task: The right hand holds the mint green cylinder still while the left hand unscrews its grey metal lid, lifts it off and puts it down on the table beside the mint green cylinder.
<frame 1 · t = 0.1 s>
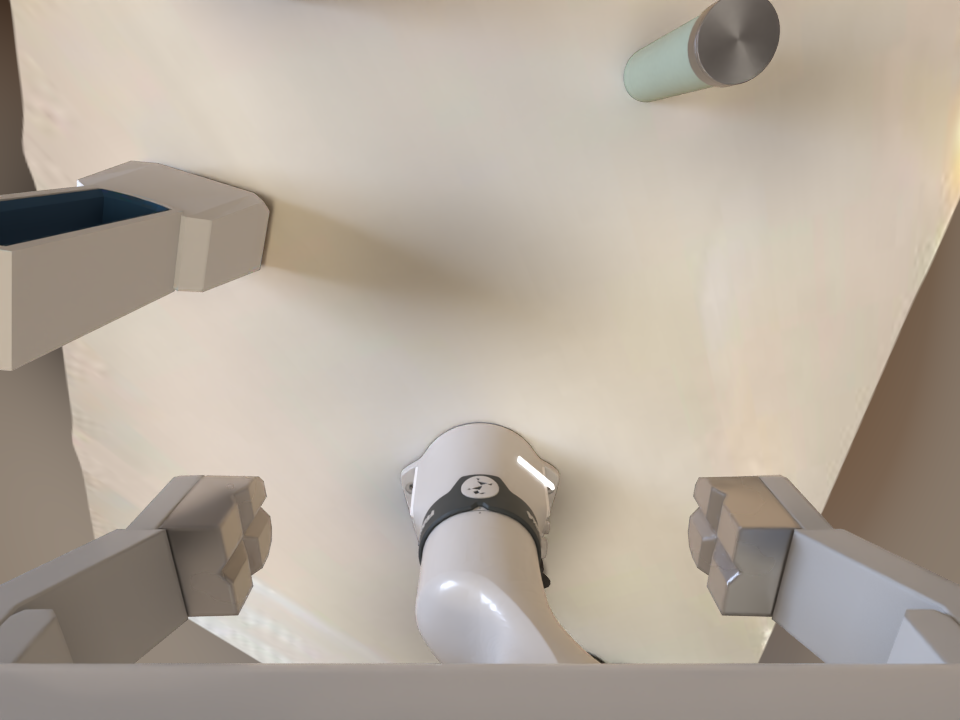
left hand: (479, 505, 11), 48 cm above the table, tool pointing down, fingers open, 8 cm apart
lid: (735, 40, 33), point 19 cm above the table, screwed on, not yet turned
mint green cylinder: (648, 74, 51), on the table
electronic device: (208, 215, 55), on the table
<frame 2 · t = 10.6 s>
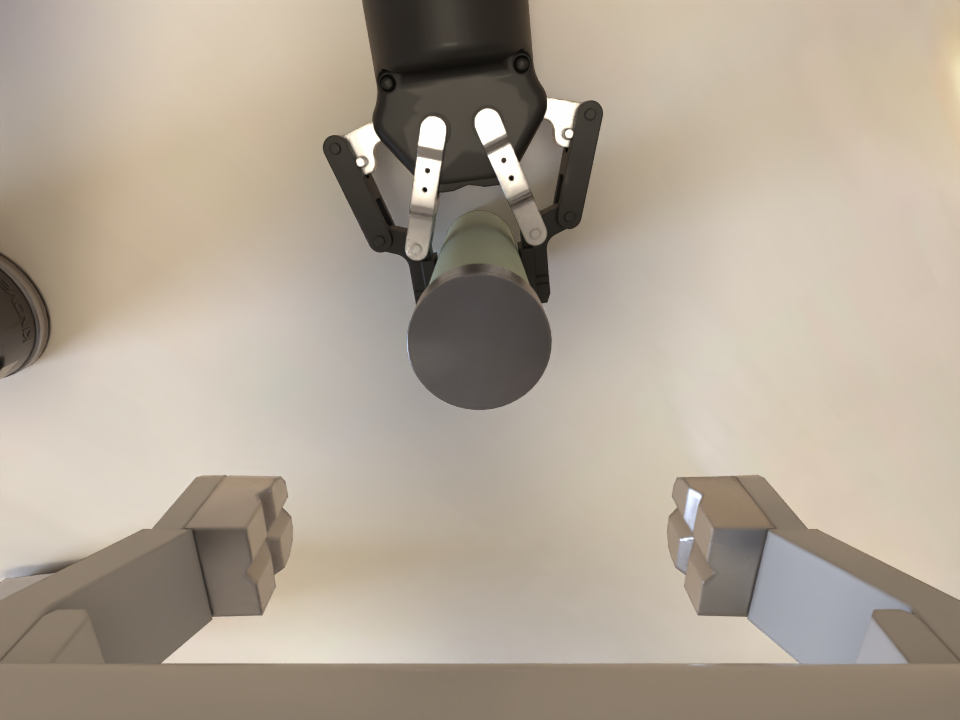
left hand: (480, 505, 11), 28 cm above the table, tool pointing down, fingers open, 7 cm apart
right hand: (485, 315, 31), fingers closed on mint green cylinder, 4 cm apart
lid: (479, 341, 19), point 19 cm above the table, screwed on, not yet turned
mint green cylinder: (479, 246, 36), on the table, touching right hand
electronic device: (90, 594, 47), on the table
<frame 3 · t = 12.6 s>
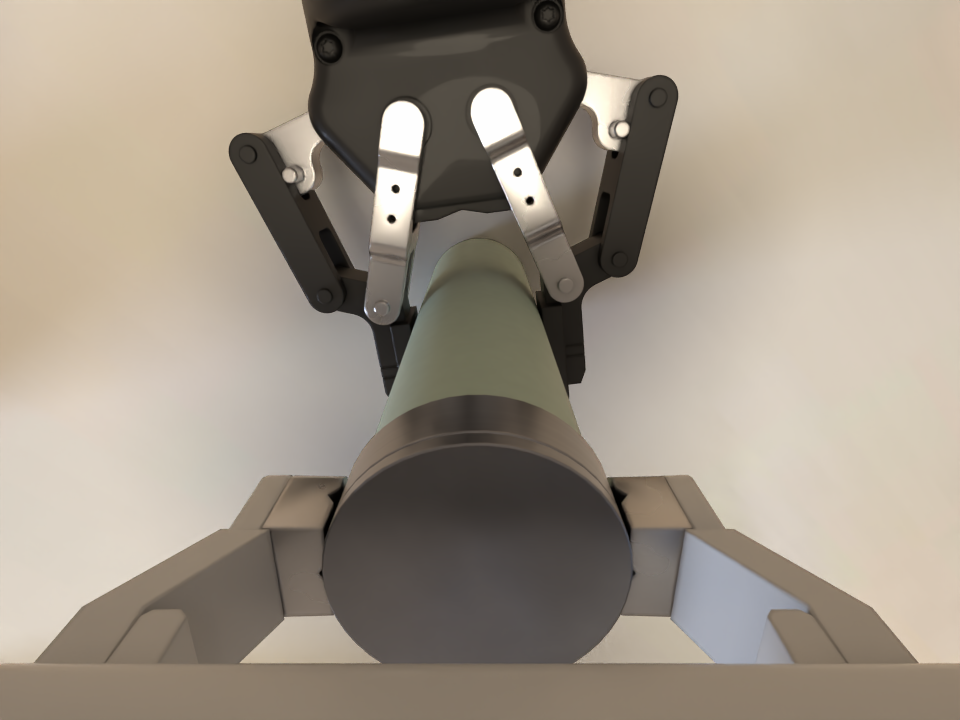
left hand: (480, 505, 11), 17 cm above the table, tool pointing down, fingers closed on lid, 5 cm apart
right hand: (488, 398, 21), fingers closed on mint green cylinder, 4 cm apart
lid: (477, 563, 9), point 19 cm above the table, screwed on, not yet turned, touching left hand
mint green cylinder: (479, 286, 26), on the table, touching right hand
when the left hand's fingers open (17 cm above the table, at t = 13.9 s): lid stays where it is, point 19 cm above the table.
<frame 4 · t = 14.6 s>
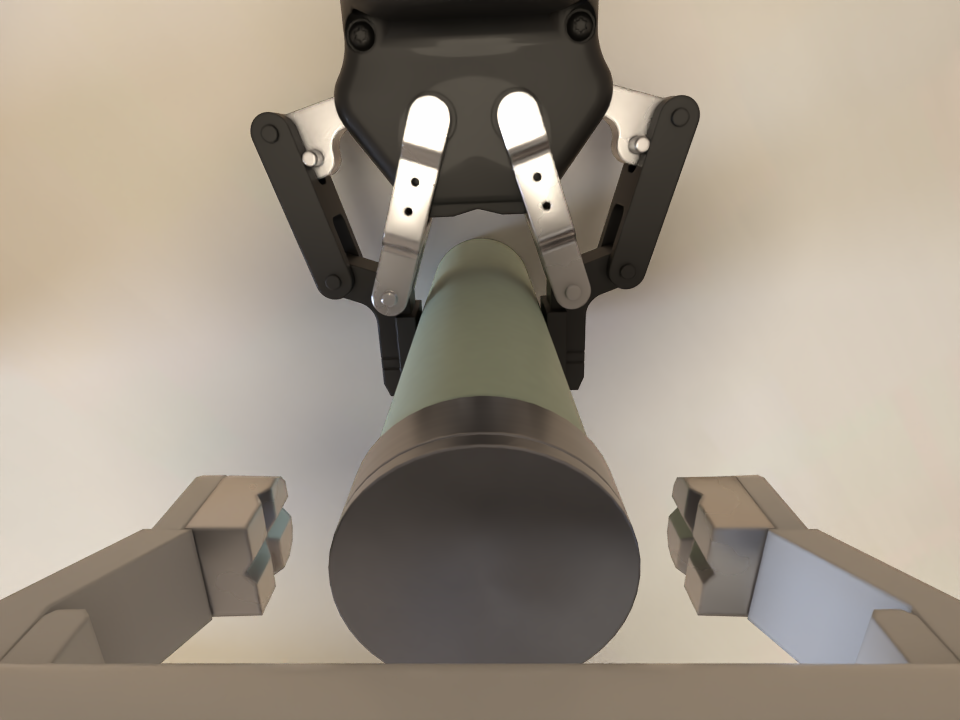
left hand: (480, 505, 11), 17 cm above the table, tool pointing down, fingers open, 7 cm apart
right hand: (485, 397, 21), fingers closed on mint green cylinder, 4 cm apart
lid: (484, 565, 9), point 19 cm above the table, turned 63° so far, risen 0.2 cm, still on its thread
mint green cylinder: (481, 285, 27), on the table, touching right hand
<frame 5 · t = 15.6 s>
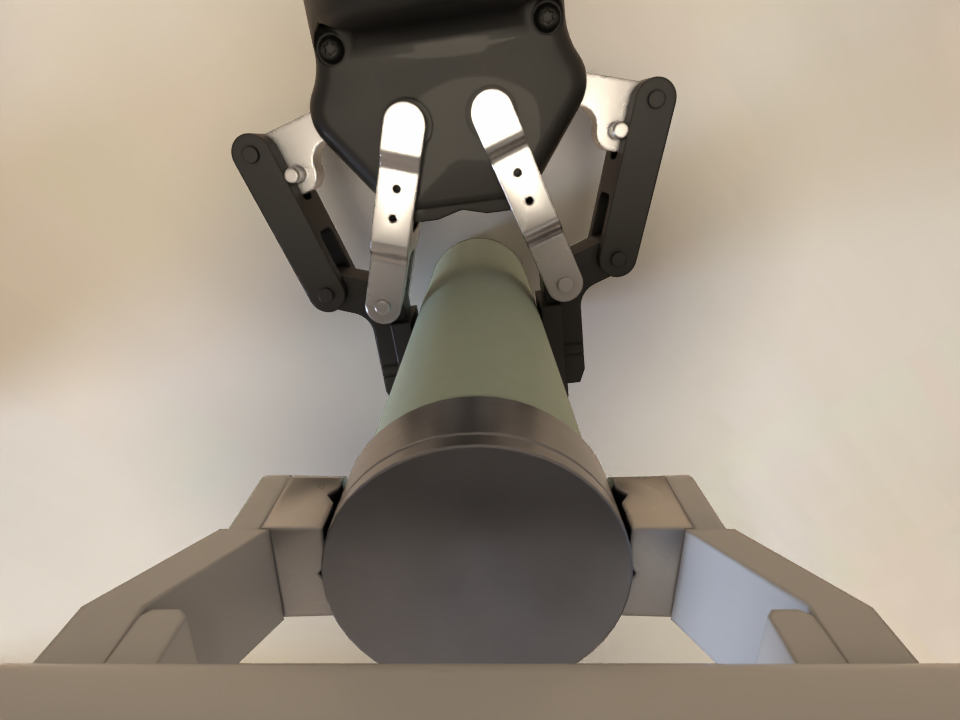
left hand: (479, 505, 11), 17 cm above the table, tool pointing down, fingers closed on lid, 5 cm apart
right hand: (488, 396, 21), fingers closed on mint green cylinder, 4 cm apart
lid: (477, 565, 9), point 19 cm above the table, turned 63° so far, risen 0.2 cm, still on its thread, touching left hand
mint green cylinder: (479, 285, 27), on the table, touching right hand
when the left hand's fingers open (2 cm above the table, at t = 21.9 s): lid drops 2 cm, point 1 cm above the table.
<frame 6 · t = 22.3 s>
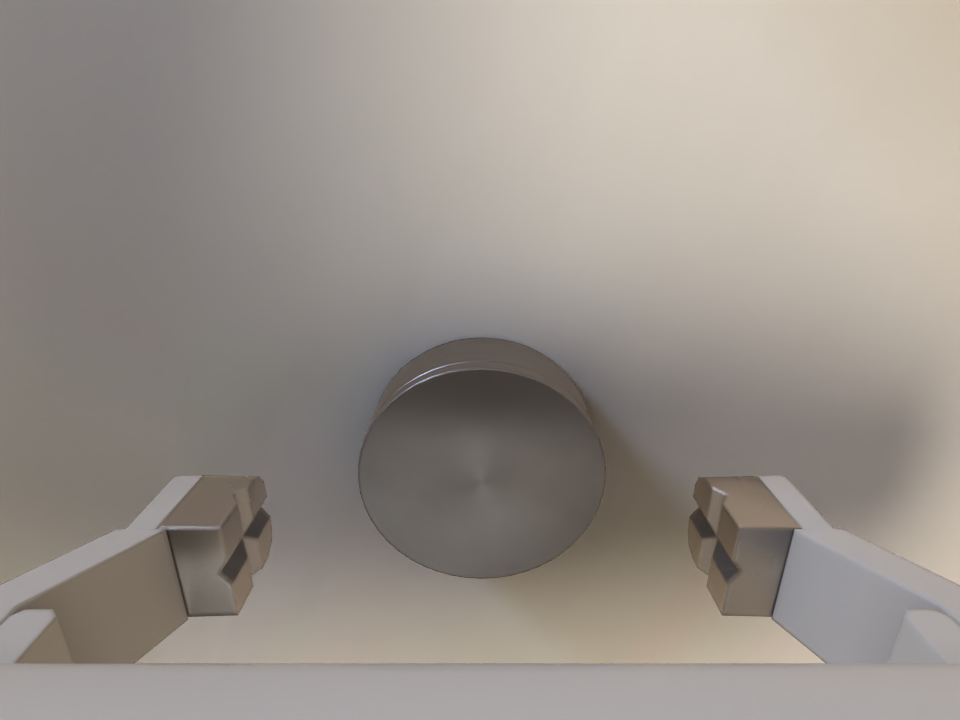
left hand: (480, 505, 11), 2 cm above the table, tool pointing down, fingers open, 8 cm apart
lid: (481, 472, 11), point 1 cm above the table, off its thread
when the right hand's fingers open (7 cm above the table, at t = 22.9 s): mint green cylinder stays where it is, on the table.
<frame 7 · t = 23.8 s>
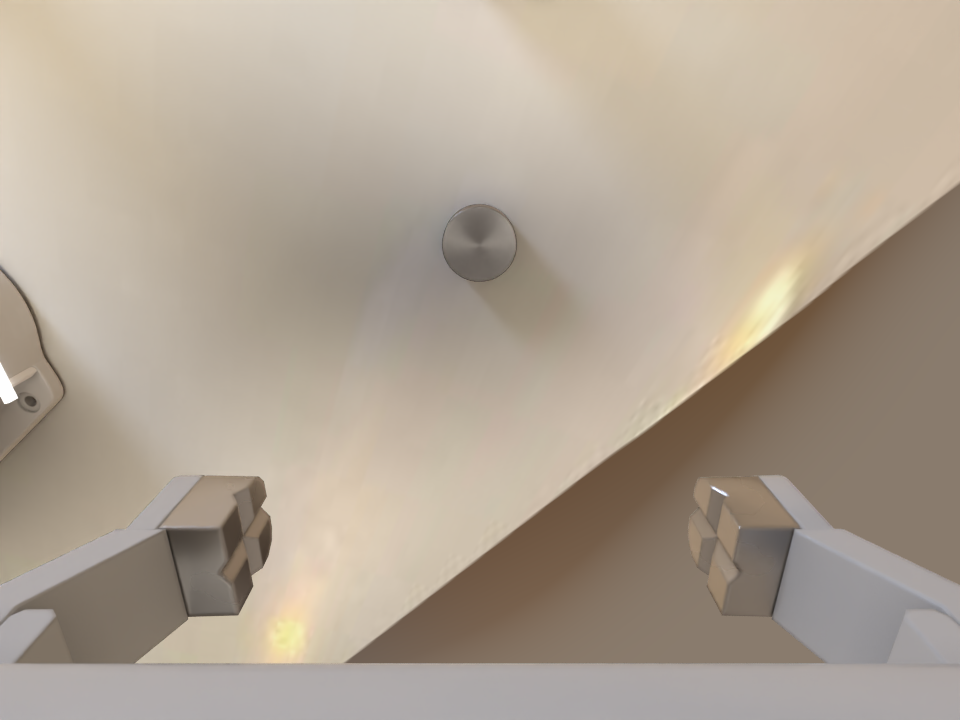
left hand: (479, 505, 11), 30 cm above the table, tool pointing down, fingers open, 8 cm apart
lid: (479, 244, 37), point 1 cm above the table, off its thread
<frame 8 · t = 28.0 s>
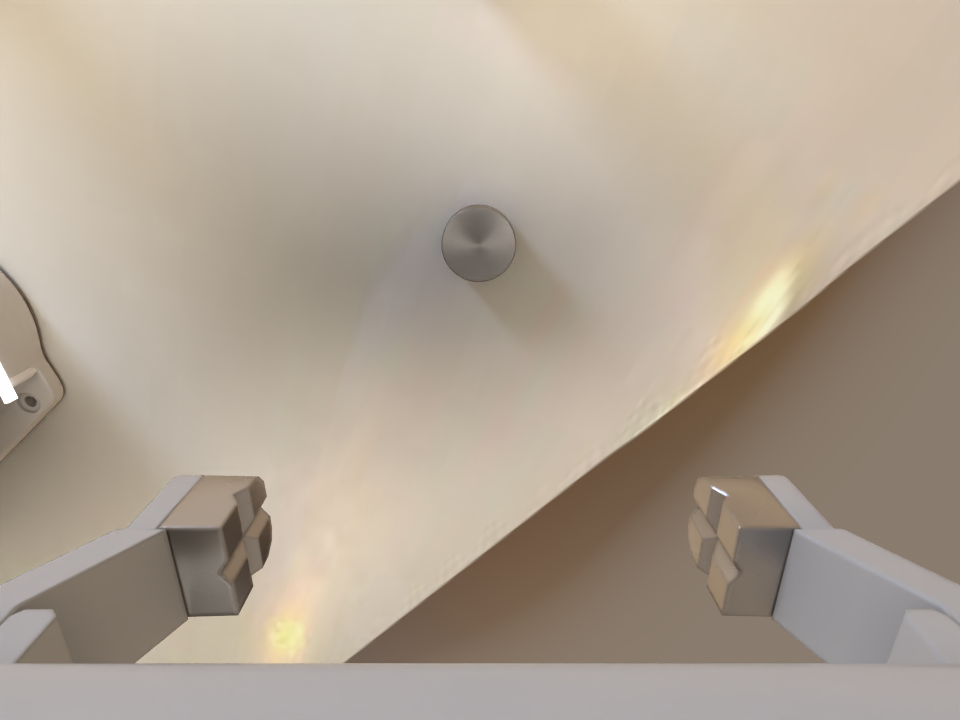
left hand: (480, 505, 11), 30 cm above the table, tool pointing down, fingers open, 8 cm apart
lid: (478, 244, 37), point 1 cm above the table, off its thread
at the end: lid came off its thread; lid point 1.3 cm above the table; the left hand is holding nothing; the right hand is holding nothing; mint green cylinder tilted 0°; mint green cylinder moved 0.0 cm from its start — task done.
